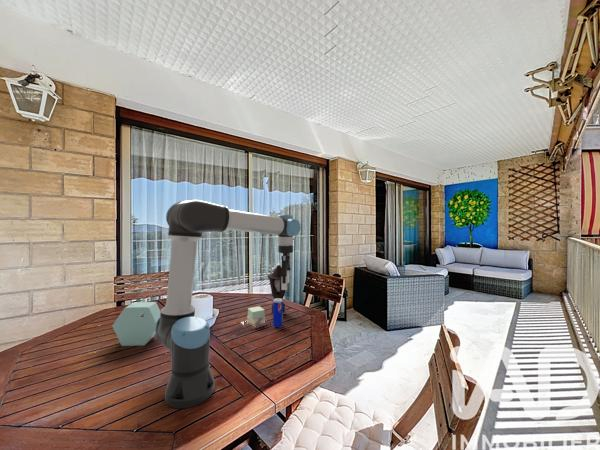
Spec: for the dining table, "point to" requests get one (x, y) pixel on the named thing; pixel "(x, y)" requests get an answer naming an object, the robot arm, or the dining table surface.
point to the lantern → (276, 285)
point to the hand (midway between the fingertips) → (285, 286)
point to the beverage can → (277, 312)
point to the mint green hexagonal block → (137, 323)
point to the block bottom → (255, 321)
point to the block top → (256, 312)
